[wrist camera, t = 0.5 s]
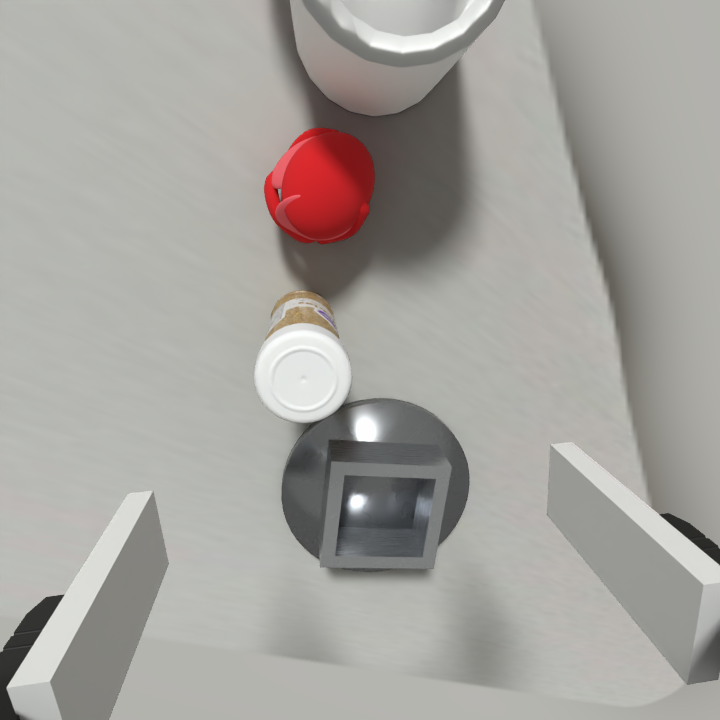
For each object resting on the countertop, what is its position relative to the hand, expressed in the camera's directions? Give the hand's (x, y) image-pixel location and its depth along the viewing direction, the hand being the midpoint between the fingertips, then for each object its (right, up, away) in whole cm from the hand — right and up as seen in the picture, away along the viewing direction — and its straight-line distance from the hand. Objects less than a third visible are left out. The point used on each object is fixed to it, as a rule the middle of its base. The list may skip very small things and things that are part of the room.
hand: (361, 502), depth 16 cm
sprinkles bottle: (-4, +8, +19) cm, 21 cm away
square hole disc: (+1, -5, +23) cm, 24 cm away
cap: (-3, +16, +17) cm, 24 cm away
